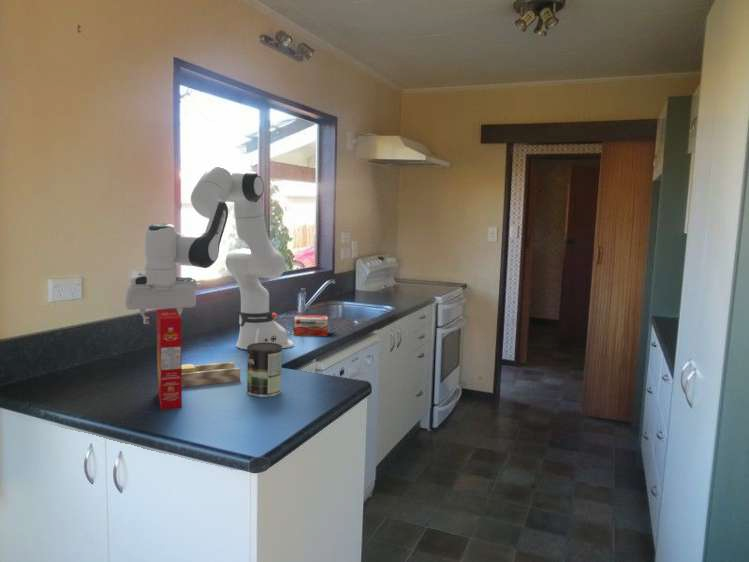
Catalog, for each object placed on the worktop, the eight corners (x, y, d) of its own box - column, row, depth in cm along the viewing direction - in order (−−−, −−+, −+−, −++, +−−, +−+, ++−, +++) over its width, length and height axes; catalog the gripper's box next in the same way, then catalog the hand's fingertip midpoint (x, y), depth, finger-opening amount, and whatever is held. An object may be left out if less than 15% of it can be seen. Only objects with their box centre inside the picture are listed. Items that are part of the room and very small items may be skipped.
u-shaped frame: (233, 373, 190) (233, 359, 190) (240, 380, 182) (240, 366, 182) (170, 379, 181) (170, 364, 180) (174, 387, 173) (174, 372, 172)
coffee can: (250, 398, 165) (250, 351, 164) (244, 388, 175) (244, 343, 173) (284, 395, 169) (285, 349, 168) (277, 385, 179) (278, 341, 177)
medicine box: (293, 335, 251) (293, 318, 250) (294, 332, 259) (294, 314, 258) (327, 336, 252) (328, 318, 251) (327, 332, 260) (328, 315, 260)
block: (192, 379, 182) (192, 363, 182) (195, 383, 178) (195, 367, 177) (176, 380, 180) (176, 365, 179) (178, 385, 175) (178, 369, 175)
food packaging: (157, 393, 167) (156, 309, 164) (176, 391, 169) (175, 309, 166) (161, 410, 154) (160, 319, 151) (181, 407, 156) (181, 318, 153)
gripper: (194, 275, 179) (194, 319, 181) (124, 277, 170) (124, 322, 172) (198, 278, 174) (198, 322, 175) (125, 279, 164) (126, 326, 166)
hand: (161, 322), depth 173 cm, fingers open, 7 cm apart
